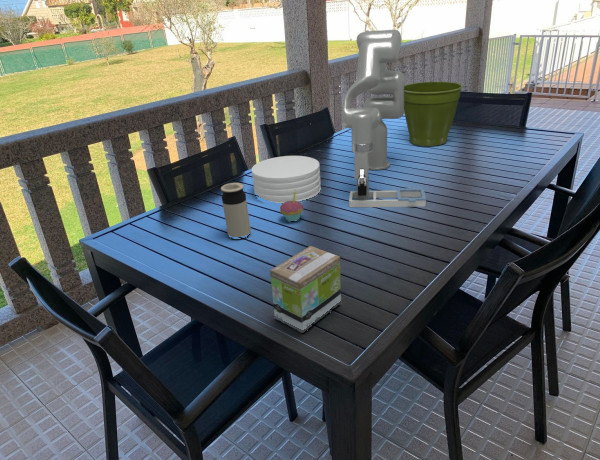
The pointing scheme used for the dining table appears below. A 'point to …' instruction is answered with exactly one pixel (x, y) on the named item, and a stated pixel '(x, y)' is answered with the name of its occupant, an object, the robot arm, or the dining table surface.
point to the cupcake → (291, 209)
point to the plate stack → (286, 178)
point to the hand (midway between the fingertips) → (362, 190)
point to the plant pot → (430, 111)
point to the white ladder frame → (391, 194)
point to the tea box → (306, 286)
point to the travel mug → (235, 210)
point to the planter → (367, 191)
